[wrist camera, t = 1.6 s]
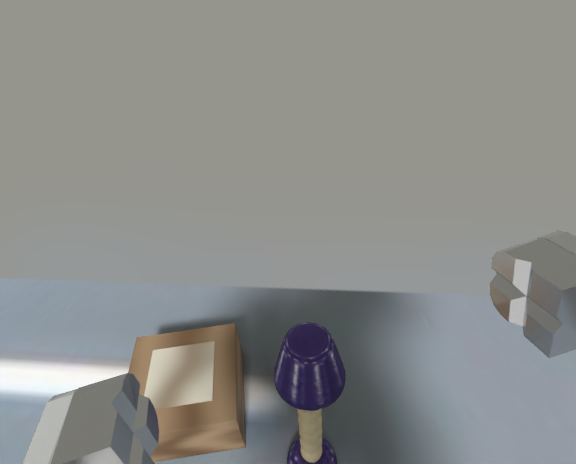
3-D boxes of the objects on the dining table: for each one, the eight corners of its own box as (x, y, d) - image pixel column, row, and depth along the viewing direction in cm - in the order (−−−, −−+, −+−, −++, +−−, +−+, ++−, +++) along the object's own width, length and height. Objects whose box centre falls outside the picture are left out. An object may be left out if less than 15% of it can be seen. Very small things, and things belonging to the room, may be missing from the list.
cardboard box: (132, 465, 33) (111, 438, 30) (151, 365, 41) (136, 336, 38) (245, 447, 34) (235, 418, 31) (242, 352, 42) (234, 321, 38)
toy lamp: (298, 424, 35) (283, 303, 25) (348, 441, 33) (353, 319, 23) (280, 480, 31) (254, 365, 21) (334, 501, 30) (334, 388, 20)
